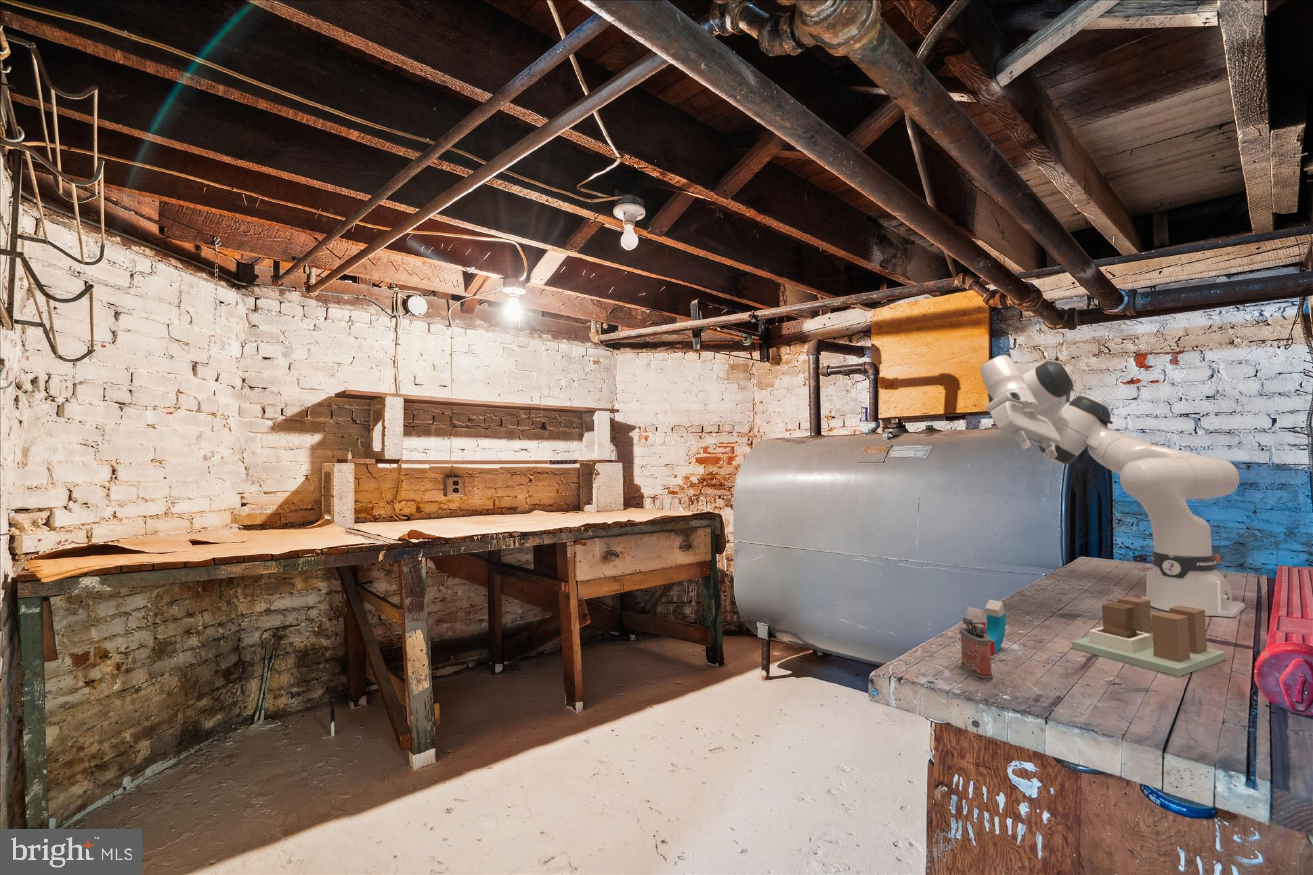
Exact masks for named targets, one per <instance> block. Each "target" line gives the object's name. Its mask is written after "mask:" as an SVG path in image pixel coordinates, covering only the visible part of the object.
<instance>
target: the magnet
mask: <svg viewBox="0 0 1313 875" xmlns="http://www.w3.org/2000/svg"><path fill="white" fill-rule="evenodd" d="M984 610H985V612H984V611H983V610H982V609H979V608H974V607H970V606H969V607H967V612H966V616H968V617H970V618H972V619H973V620H979V621H980V622H981V624H982V625H983V626H984V629H985V632H984V634H986V635H987V636H988V637H990V638H991V644H990V654H991V655H995V654H997V653H998V652H999V651H1000V649H1001V647H1002V644H1003V643H1004V639H1005V633H1006V628H1007V627H1006V624H1007V623H1006V621H1007V620H1006V610H1005V607H1004V602H1003V601H999V600H994V599H989V600H988V601H987V603H986V605H985V607H984ZM967 626H968V625H966V624H965V627H967Z"/></svg>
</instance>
